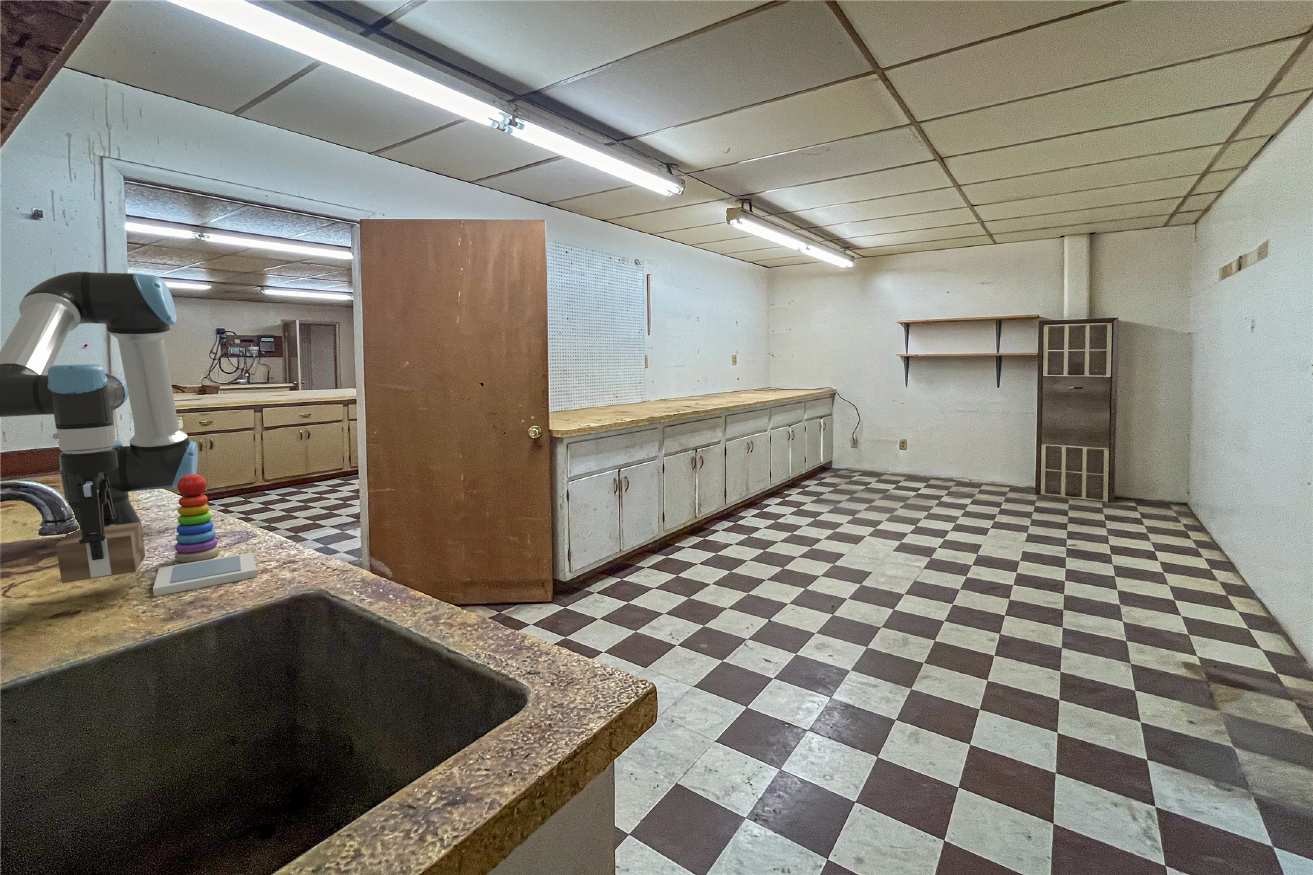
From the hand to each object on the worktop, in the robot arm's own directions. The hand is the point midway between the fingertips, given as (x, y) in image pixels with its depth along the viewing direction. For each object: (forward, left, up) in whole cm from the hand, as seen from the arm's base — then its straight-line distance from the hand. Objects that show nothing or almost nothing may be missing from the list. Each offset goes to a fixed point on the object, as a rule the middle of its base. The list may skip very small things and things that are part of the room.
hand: (106, 566), depth 113 cm
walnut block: (0, 0, 0) cm, 0 cm away
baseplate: (0, +15, -5) cm, 16 cm away
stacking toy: (-16, +13, -5) cm, 21 cm away
